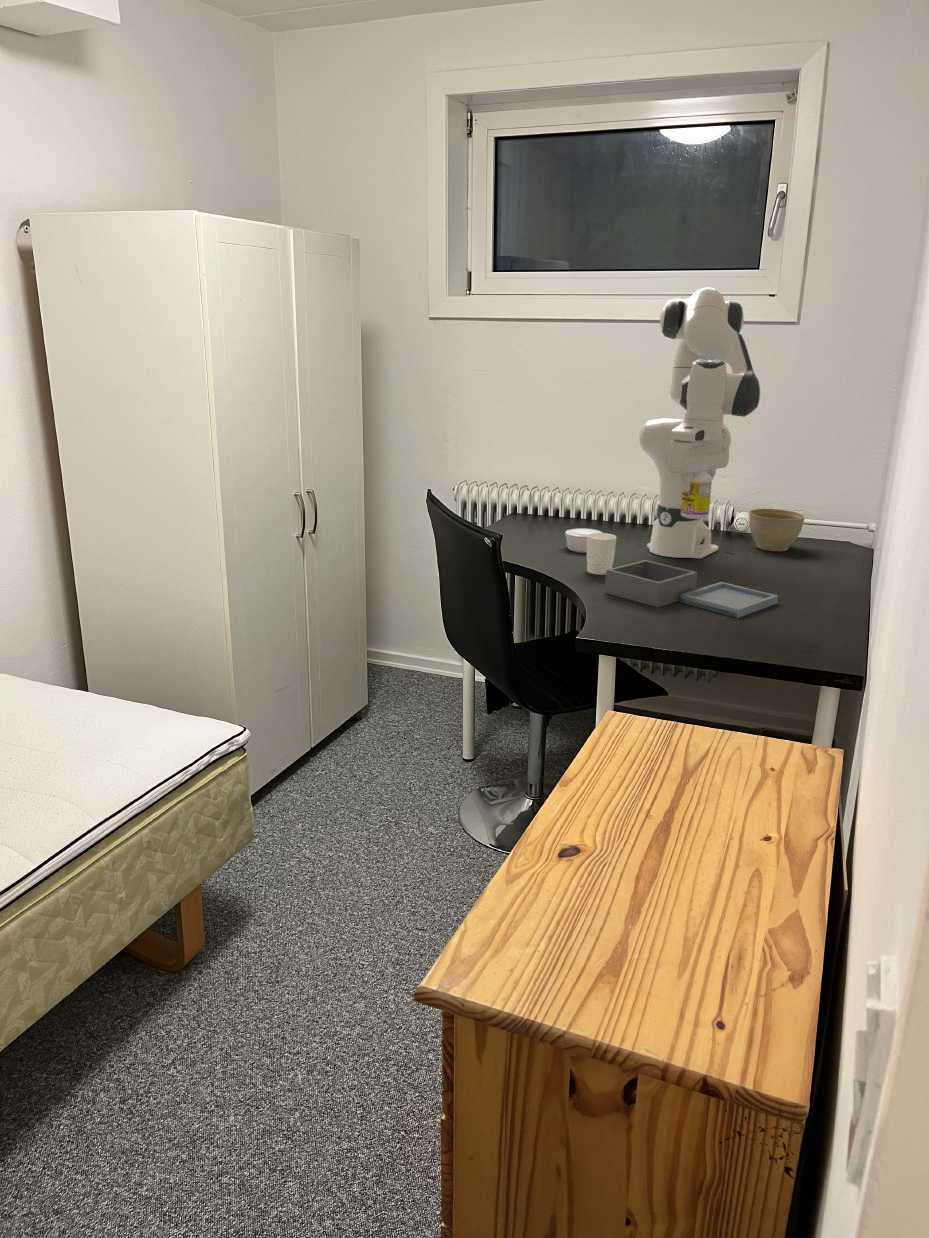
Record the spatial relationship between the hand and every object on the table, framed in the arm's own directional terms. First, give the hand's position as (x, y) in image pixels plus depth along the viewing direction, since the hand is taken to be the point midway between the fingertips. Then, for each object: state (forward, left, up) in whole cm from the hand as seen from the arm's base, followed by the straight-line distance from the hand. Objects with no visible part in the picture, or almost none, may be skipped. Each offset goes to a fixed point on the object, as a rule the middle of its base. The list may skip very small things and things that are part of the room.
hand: (696, 489), depth 218 cm
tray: (-5, +9, -27) cm, 29 cm away
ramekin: (-20, -50, -28) cm, 60 cm away
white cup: (-3, -30, -27) cm, 41 cm away
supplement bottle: (0, 0, -7) cm, 7 cm away
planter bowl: (-67, -14, -27) cm, 74 cm away
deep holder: (+4, -8, -27) cm, 29 cm away
